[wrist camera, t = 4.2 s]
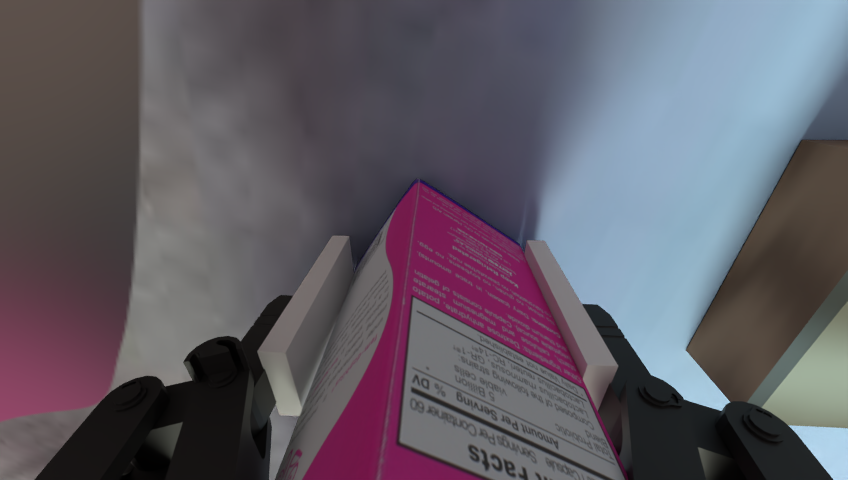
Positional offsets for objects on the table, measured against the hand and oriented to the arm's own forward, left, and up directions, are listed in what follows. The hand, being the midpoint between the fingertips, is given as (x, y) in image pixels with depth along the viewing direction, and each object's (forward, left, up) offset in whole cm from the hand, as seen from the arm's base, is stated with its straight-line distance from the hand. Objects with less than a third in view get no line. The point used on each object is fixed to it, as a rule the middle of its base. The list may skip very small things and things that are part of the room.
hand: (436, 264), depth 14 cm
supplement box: (0, 0, -1) cm, 1 cm away
